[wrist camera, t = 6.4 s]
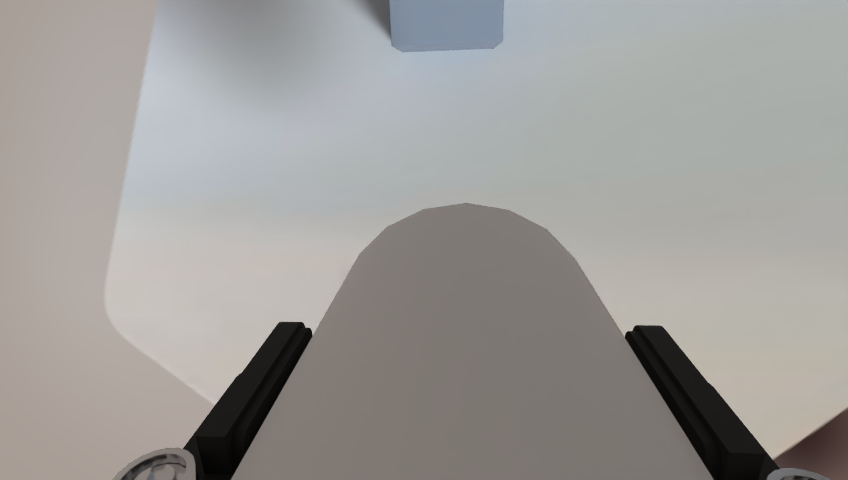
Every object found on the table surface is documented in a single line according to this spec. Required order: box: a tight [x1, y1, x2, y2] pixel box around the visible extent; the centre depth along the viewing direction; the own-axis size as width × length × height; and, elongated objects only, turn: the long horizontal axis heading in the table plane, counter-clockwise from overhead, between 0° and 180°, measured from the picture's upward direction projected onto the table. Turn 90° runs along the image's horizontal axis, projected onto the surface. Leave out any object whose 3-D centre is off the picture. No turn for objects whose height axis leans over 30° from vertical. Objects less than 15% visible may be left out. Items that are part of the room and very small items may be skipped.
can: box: [231, 203, 714, 480], centre depth 9 cm, size 8×8×12 cm
